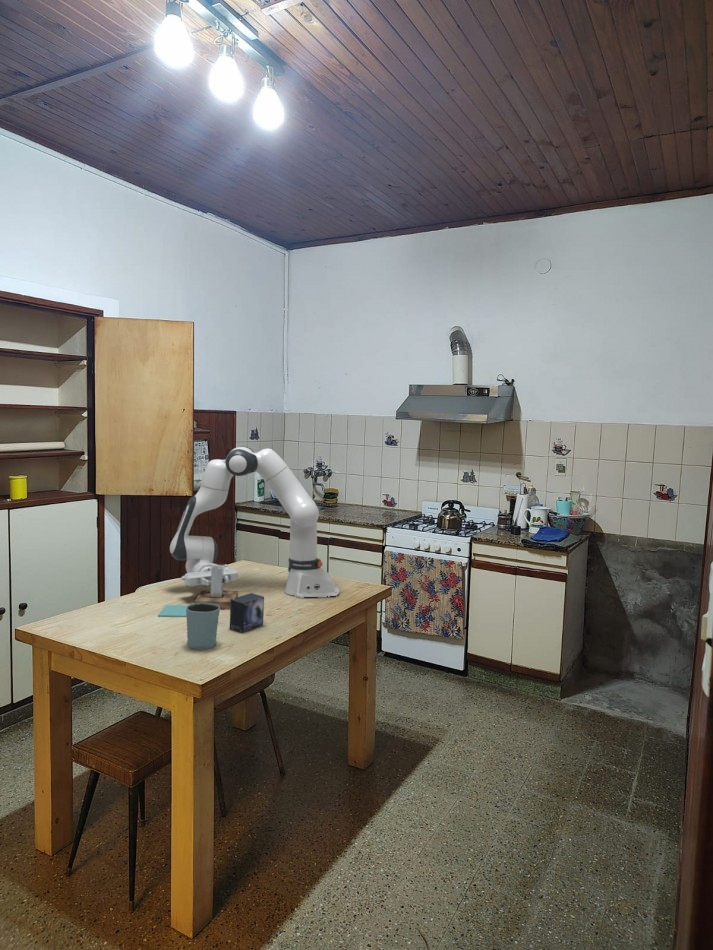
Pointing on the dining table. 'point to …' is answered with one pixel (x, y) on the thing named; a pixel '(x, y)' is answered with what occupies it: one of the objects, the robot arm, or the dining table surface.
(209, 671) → the dining table surface
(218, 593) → the metal bar
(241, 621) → the small box
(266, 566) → the dining table surface
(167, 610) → the mat
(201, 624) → the grey-green cup
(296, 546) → the robot arm
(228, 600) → the socket block
